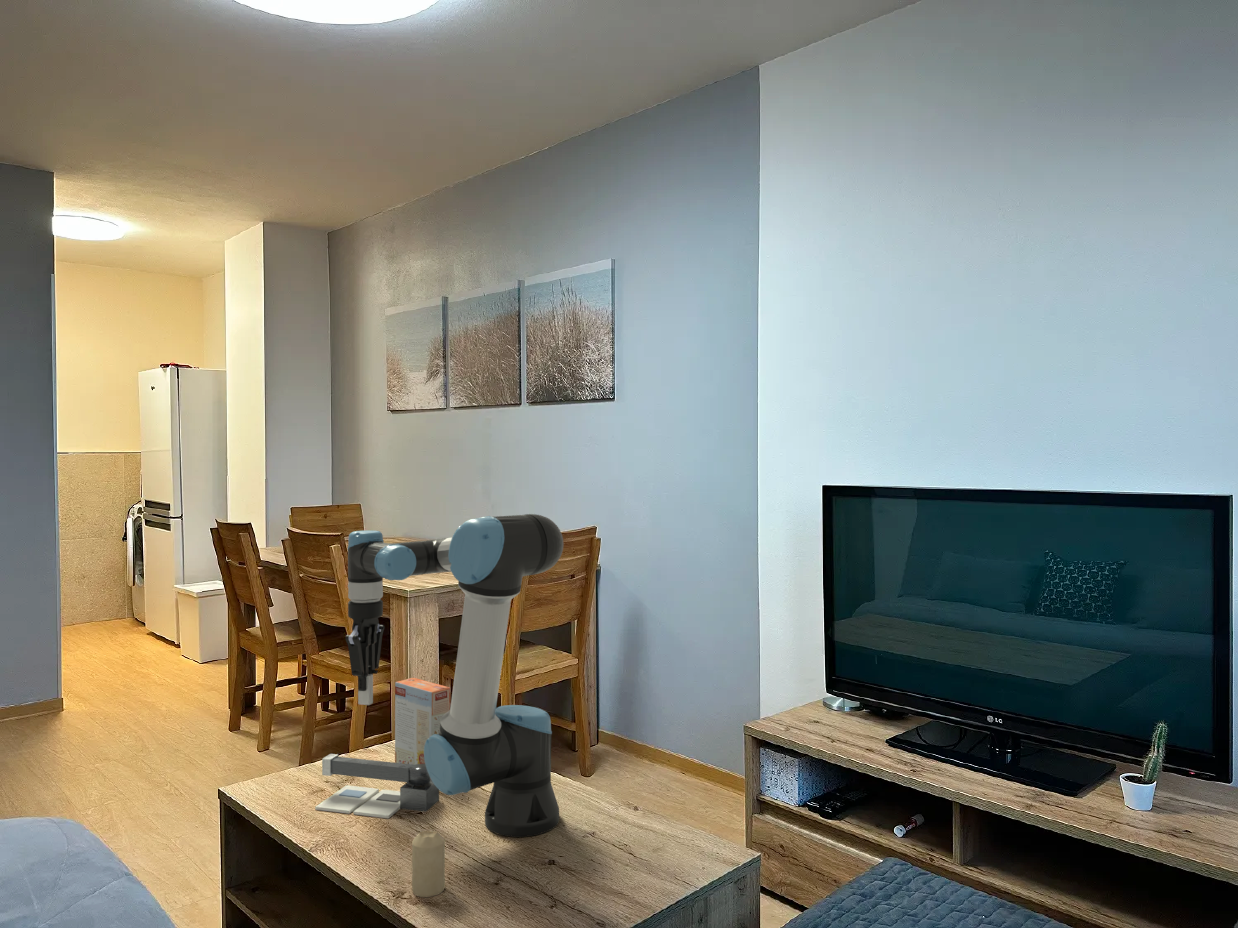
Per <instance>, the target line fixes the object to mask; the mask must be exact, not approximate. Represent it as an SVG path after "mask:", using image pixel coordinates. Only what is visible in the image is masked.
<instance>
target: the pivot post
mask: <svg viewBox="0 0 1238 928" xmlns="http://www.w3.org/2000/svg"><path fill="white" fill-rule="evenodd" d="M399 791H400V809H399V810H408V811H416V812H423V813H427V812H428V811H430V809H431V808H432V807H434V806H435V805H436V804H437V803H438V802H439V801H440V790H439V789H438V788H437V787H436V786H435V785H434V783H433V782H432V780H431V779H430V782H429V783H428V784H425V785H411V784H410V783H408V782H405V783H404V784H403V785H402V786H400V787H399Z"/></svg>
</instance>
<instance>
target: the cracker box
mask: <svg viewBox="0 0 1238 928" xmlns="http://www.w3.org/2000/svg"><path fill="white" fill-rule="evenodd" d="M394 690H395V691H394V694H395V695H394V700H395V702H394V704H395V705H394V763H403V764H413V765H416V764H425V760H424V746H425V742H426V740H427V739H428V738H429V737H431V736H432V735H433V734H438V733H439V730H440V722H441V718H442V716H443V715H444V714H445V713H446V712H448V711H449V710H450V707H451V687H449V686H445V685H442V684H439V683H435V682H431V681H427V680H424V679H420V678H417V677H409V678H406V679H402V680H398V681H395V685H394ZM430 779H431V778H430Z"/></svg>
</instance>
